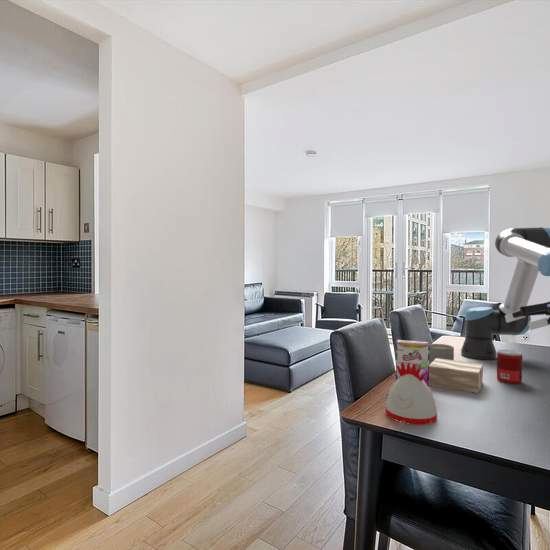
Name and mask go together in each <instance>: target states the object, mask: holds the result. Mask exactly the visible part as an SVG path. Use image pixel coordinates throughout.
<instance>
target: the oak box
mask: <svg viewBox="0 0 550 550" xmlns="http://www.w3.org/2000/svg"><path fill="white" fill-rule="evenodd" d="M483 368H484V364H483V363H476V362H469V361H462V360H456V359H455V360H448V359H440V358H436V359H435V360H434V361H433V362H432V363H431V364H430V365H429V386H431V385H432V387H437V386H438V387H437V388H443V389H444V388H445V389H451V390H456V391H461V392H466V391H467V392H468V393H472V392H475V393H474V394H479V393H478V392H480V390H481V388H482V385H483V379H484V378H483V373H484V372H483V371H484V369H483Z"/></svg>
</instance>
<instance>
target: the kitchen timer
mask: <svg viewBox="0 0 550 550" xmlns="http://www.w3.org/2000/svg"><path fill="white" fill-rule="evenodd" d="M397 369H398V372H399V374H400V376H401V377H400V378H399V379H397V380H396V382H395V381H394V383H393V384H392V385H391V388H390V390H389V393H388V396H387V398H386V401H385V413H386V416H388V417H389V416H390V417H391V418H390V417H389V418H390V419H392V418H393V419H392V420H394V419H396V420H398V421H397V422H399V421H401V422H400V423H403V422H405V423H404V424H407V423H409V424H408V425H414V424H415V425H417V426H419V425H420V426H423V425H430V424H434V422H436V421H437V419H438V410H437V409H438V408H437V405H436V402H435V398H434V395H433V392H432V391H431V389H430V386H429V387H428V386H427V384H426V383H425V382H424V381H423V378H424V376H425V374H423V375H422V377H420V376H419V373H420V369H418V370H417V372H416V369H415V364H413V365H412V369H411V368H410V363H408V364H407V368H406V369H405V366H404V363H403V362H402V363H401V369H400V367H399V366H397ZM396 420H395V421H396Z"/></svg>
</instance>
